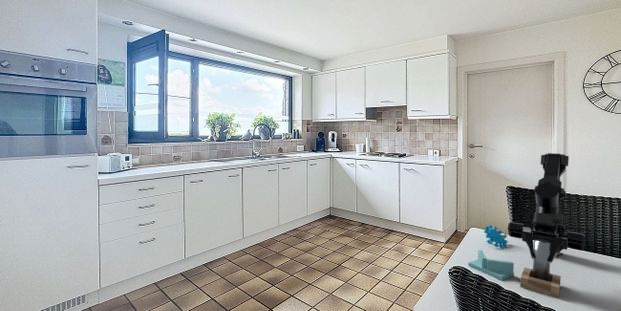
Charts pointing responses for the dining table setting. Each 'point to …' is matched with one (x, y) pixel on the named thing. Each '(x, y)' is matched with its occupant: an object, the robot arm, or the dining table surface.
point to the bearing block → (540, 283)
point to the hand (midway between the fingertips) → (541, 259)
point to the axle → (541, 259)
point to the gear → (495, 236)
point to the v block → (493, 266)
